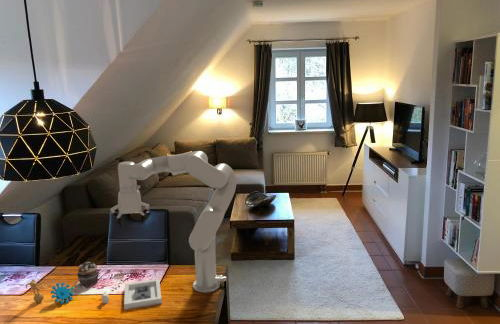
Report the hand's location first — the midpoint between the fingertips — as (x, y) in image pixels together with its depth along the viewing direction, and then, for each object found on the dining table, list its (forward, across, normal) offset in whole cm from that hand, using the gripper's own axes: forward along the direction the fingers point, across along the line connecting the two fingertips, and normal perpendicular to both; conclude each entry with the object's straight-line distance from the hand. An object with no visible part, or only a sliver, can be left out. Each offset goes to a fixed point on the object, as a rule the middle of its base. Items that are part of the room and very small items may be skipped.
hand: (131, 224), depth 186 cm
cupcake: (+30, +22, -8) cm, 38 cm away
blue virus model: (+31, +31, +5) cm, 44 cm away
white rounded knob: (+30, +13, +12) cm, 35 cm away
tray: (+30, -3, +13) cm, 33 cm away
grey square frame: (+29, -3, +13) cm, 32 cm away
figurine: (+30, +42, +4) cm, 52 cm away
